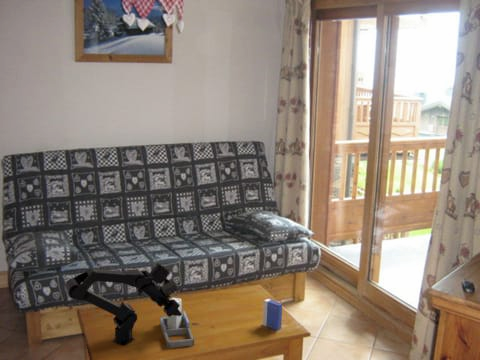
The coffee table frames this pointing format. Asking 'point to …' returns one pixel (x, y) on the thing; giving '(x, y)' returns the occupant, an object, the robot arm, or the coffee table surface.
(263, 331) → the coffee table surface
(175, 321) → the skincare box
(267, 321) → the walkman
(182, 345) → the frame
